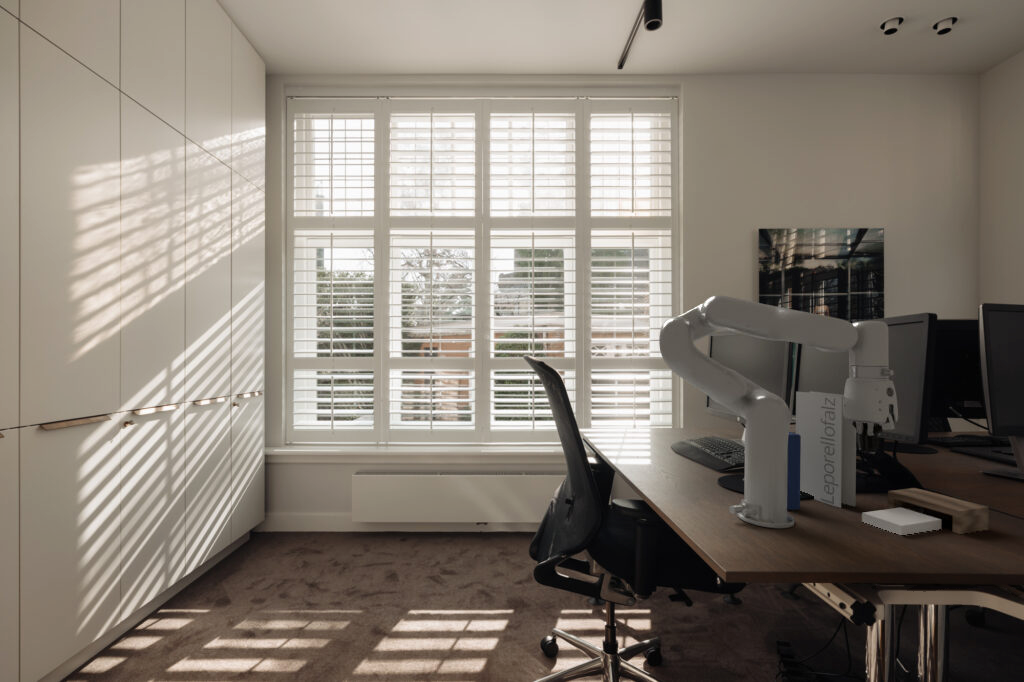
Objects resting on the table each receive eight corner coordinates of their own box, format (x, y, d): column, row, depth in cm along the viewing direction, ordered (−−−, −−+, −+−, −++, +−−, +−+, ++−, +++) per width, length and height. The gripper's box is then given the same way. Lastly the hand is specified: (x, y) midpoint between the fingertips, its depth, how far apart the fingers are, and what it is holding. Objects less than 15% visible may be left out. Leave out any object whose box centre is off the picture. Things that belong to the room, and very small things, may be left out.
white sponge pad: (901, 536, 112) (901, 525, 112) (862, 522, 120) (862, 512, 120) (941, 529, 116) (941, 519, 116) (900, 516, 125) (900, 507, 125)
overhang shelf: (960, 534, 113) (960, 511, 113) (887, 511, 128) (887, 491, 128) (988, 529, 117) (988, 506, 117) (914, 508, 132) (914, 487, 132)
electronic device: (802, 509, 129) (803, 434, 129) (784, 510, 128) (785, 434, 128) (777, 498, 138) (777, 428, 139) (760, 499, 138) (761, 428, 138)
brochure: (794, 492, 144) (795, 391, 145) (808, 491, 146) (810, 391, 146) (840, 508, 131) (841, 396, 131) (855, 506, 133) (856, 396, 133)
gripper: (914, 375, 109) (914, 457, 109) (848, 371, 123) (849, 444, 123) (891, 375, 106) (891, 459, 106) (827, 372, 121) (827, 446, 120)
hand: (868, 451), depth 115 cm, fingers closed
